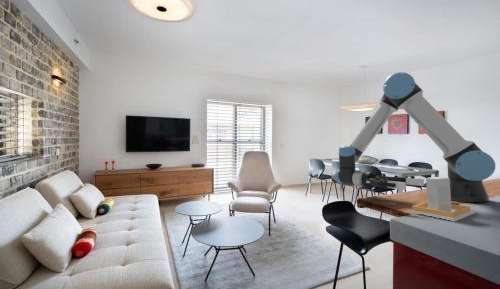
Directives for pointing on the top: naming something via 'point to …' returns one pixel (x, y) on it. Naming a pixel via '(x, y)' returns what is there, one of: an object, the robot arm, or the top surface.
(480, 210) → the top surface
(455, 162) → the robot arm
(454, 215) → the shallow wooden tray
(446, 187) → the skincare box
